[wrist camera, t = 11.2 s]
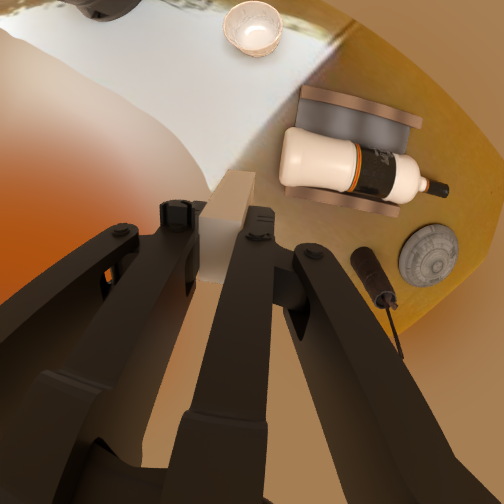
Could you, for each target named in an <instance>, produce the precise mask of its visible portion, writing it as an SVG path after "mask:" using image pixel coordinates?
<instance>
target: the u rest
mask: <svg viewBox="0 0 504 504" xmlns="http://www.w3.org/2000/svg"><path fill="white" fill-rule="evenodd" d="M422 121H423V118H421V117H418V116H415V115H413V114H410V113H407V112H404V111H401V110H398V109H395V108H392V107H389V106H386V105H383V104H379V103H376V102H373V101H369V100H366V99H362V98H358V97H355V96H351V95H347V94H343V93H339V92H334V91H330V90H325V89H321V88H316V87H311V86H306V85H303V86H302V87H301V91H300V98H299V104H298V110H297V116H296V122H295V127H296V128H301V129H304V130H306V131H308V132H312V133H315V134H319V135H323V136H327V137H330V138H334V139H341V140H350V141H351V142H354V143H359V144H363V145H367V146H371V147H375V148H379V149H383V150H387V151H391V152H395V153H398V154H401V155H404V154H405V150H406V146H407V141H408V137H409V132H410V127H413V128H417V129H420V130H421V126H422ZM285 196H289V197H295V198H301V199H306V200H312V201H317V202H323V203H328V204H333V205H338V206H343V207H348V208H353V209H358V210H363V211H367V212H372V213H377V214H381V215H386V216H390V217H395V218H397V217H398V214H399V211H400V207H399V206H398V205H397V204H396V203H394V202H391V201H389V200H388V201H385V200H383V199H381V198H377V197H372V196H368V195H363V194H357V193H352V192H347V191H344V192H339V191H337V190H333V189H328V188H320V187H308V186H296V187H290V186H285Z"/></svg>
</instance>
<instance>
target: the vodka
mask: <svg viewBox="0 0 504 504" xmlns="http://www.w3.org/2000/svg"><path fill="white" fill-rule="evenodd" d="M279 180H280V182H281V184H283V185H285V186H290V187H296V186H308V187H320V188H328V189H333V190H337V191H339V192H344V191H347V192H352V193H357V194H363V195H368V196H372V197H377V198H381V199H383V200H385V201H388V200H389V201H391V202H394V203H398V204H403V203H407V202H409V201H411V200H412V199H413V198H414V196H415V195H416V193H417V192H418V191H421V192H424V193H428V194H431V195H436V196H439V197H442V198H446V197H447V196H448V194H449V186H448V185H447V184H444V183H441V182H437V181H434V180H431V179H428V178H424V177H422V176H421V175H420V171H419V167H418V165H417V163H416V161H415V160H414V159H413V158H411V157H410V156H409V155H401V154H398V153H395V152H391V151H387V150H383V149H379V148H375V147H371V146H367V145H363V144H359V143H354V142H351V141H350V140H341V139H334V138H330V137H327V136H323V135H319V134H315V133H312V132H308V131H306V130H304V129H301V128H296V127H291V128H288V129H287V130H286V132H285V136H284V141H283V147H282V154H281V162H280V171H279Z"/></svg>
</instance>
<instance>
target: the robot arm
mask: <svg viewBox="0 0 504 504" xmlns="http://www.w3.org/2000/svg"><path fill="white" fill-rule="evenodd" d="M57 1H61V2H65V3H69V4H73V5H75V6H76V7H77V8H78V9H79V10H80V11H81V12H82V13H83V14H84V15H85V16H86V17H88V18H90V19H93V20H96V21H111V20H114V19H117V18H119V17H121V16H123V15H125V14H126V13H128V12H129V11H131V10H132V9H133V8H134V7H135V6H136V5H137V4H138V3H139V2H140V1H141V0H57ZM255 173H256V172H247V171H237V170H228V171H227V172H226V174H225V176H224V177H223V179H222V180H221V182H220V183H219V185H218V186H217V188H216V190H215V191H214V193H213V194H212V196H211V198H210V199H209V201H208V202H203V201H193V202H190V201H187V200H170V201H166V202H163V203H162V204H160V225H161V226H160V227H159V228H158V230H157V231H156V232H155V233H154V234H153V235H139V230H138V227H137V226H135V225H133V224H127V223H119V224H117V225H113V226H111V227H109V228H108V229H106V230H104V231H103V232H101V233H100V234H98V235H96V236H95V237H93V238H92V239H90V240H89V241H87V242H86V243H84V244H83V245H82V246H80V247H78V248H77V249H75V250H74V251H72V252H71V253H69V254H68V255H67V256H65V257H64V258H62V259H61V260H59V261H58V262H57V263H55V264H54V265H52V266H51V267H50V268H48V269H47V270H45V271H44V272H43V273H41V274H40V275H39V276H37V277H36V278H35V279H33V280H32V281H31V282H29V283H28V284H27V285H25V286H24V287H23V288H21V289H20V290H19V291H18V292H16V293H15V294H14V295H13V296H11V297H10V298H9V299H8V300H6V301H5V302H4V303H3V304H1V305H0V504H273V503H272V502H270V501H269V500H268V499H266V498H264V497H263V490H264V478H265V464H266V452H267V436H268V424H267V422H266V404H267V390H268V389H267V388H268V373H269V358H270V341H271V340H270V339H271V322H272V303H273V304H276V305H279V306H282V307H283V314H284V317H285V320H286V323H287V326H288V329H289V331H290V334H291V337H292V340H293V343H294V346H295V349H296V352H297V355H298V358H299V361H300V363H301V366H302V369H303V372H304V375H305V378H306V381H307V384H308V387H309V390H310V393H311V396H312V399H313V402H314V405H315V408H316V411H317V414H318V417H319V420H320V422H321V425H322V429H323V432H324V435H325V438H326V441H327V444H328V447H329V450H330V453H331V456H332V459H333V462H334V465H335V468H336V471H337V474H338V477H339V480H340V483H341V486H342V489H343V492H344V495H345V498H346V500H347V502H348V504H501V502H500V501H499V500H498V499H497V498H496V497H495V496H494V495H492V494H491V493H490V492H489V491H488V490H487V488H485V487H484V485H483V484H482V483H481V482H480V481H478V479H477V478H475V476H474V475H472V473H471V472H470V471H468V470H467V469H466V468H465V466H463V464H462V463H461V462H460V461H459V460H458V459H457V458H456V457H455V456H454V454H453V452H452V449H451V447H450V446H449V443H448V442H447V440H446V438H445V436H444V434H443V432H442V430H441V428H440V426H439V424H438V422H437V421H436V418H435V417H434V415H433V413H432V411H431V409H430V408H429V406H428V404H427V402H426V400H425V398H424V397H423V395H422V393H421V391H420V390H419V388H418V386H417V384H416V382H415V381H414V379H413V377H412V376H411V374H410V372H409V370H408V369H407V367H406V365H405V364H404V362H403V360H402V359H401V357H400V355H399V354H398V352H397V351H396V349H395V347H394V346H393V344H392V343H391V341H390V339H389V338H388V336H387V334H386V333H385V331H384V330H383V328H382V326H381V325H380V323H379V322H378V320H377V319H376V317H375V315H374V314H373V312H372V311H371V309H370V308H369V306H368V305H367V303H366V302H365V300H364V299H363V297H362V296H361V294H360V293H359V291H358V290H357V288H356V287H355V285H354V284H353V282H352V281H351V279H350V278H349V276H348V275H347V274H346V272H345V271H344V269H343V268H342V266H341V265H340V263H339V262H338V261H337V259H336V258H335V256H334V255H333V254H332V252H331V251H330V250H329V249H327V248H325V247H323V246H322V245H319V244H316V243H303V244H300V245H297V246H296V248H295V250H294V251H291V250H288V249H285V248H283V247H281V246H279V245H278V244H277V243H276V242H275V237H274V221H275V212H274V211H273V210H272V209H271V208H268V207H259V206H252V204H253V193H254V183H255ZM109 268H110V272H111V276H112V279H111V280H110V281H109V282H107V281H106V278H105V274H104V272H105V271H107V270H108V269H109ZM198 270H199V281H204V282H212V283H219V284H223V288H222V291H221V295H220V298H219V302H218V306H217V309H216V313H215V316H214V320H213V324H212V328H211V331H210V335H209V339H208V342H207V346H206V350H205V354H204V357H203V361H202V365H201V369H200V373H199V376H198V380H197V384H196V388H195V392H194V396H193V400H192V403H191V406H190V408H189V410H187V411H185V412H184V414H183V416H182V418H181V421H180V424H179V427H178V431H177V435H176V439H175V443H174V447H173V450H172V455H171V458H170V462H169V466H168V468H142V467H141V463H142V441H143V437H144V433H145V431H146V427H147V424H148V421H149V418H150V415H151V412H152V409H153V406H154V403H155V400H156V397H157V394H158V391H159V388H160V385H161V382H162V379H163V376H164V374H165V371H166V368H167V365H168V362H169V359H170V356H171V354H172V351H173V348H174V345H175V342H176V340H177V337H178V334H179V332H180V329H181V326H182V324H183V321H184V318H185V315H186V312H187V310H188V307H189V305H190V302H191V299H192V297H193V294H194V291H195V289H196V275H197V273H198Z"/></svg>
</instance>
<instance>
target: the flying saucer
mask: <svg viewBox="0 0 504 504" xmlns="http://www.w3.org/2000/svg"><path fill="white" fill-rule="evenodd" d="M458 251H459V247H458V240H457V237H456V235H455V234H454V232H453V231H452V230H451V229H449V228H448V227H446V226H443V225H430V226H426V227H424V228H422V229H420V230H419V231H417V232H416V233H415V234H413V235H412V236H411V237H410V238H409V240H408V241H407V242H406V244H405V245H404V247H403V249H402V252H401V255H400V259H399V270H400V273H401V276H402V277H403V279H404V280H405V281H406V282H407V283H409V284H410V285H412V286H416V287H429V286H433V285H435V284H437V283H439V282H441V281H442V280H443V279H445V278H446V277H447V276H448V275H449V274H450V272H451V271H452V269H453V268H454V266H455V263H456V261H457V257H458Z"/></svg>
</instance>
